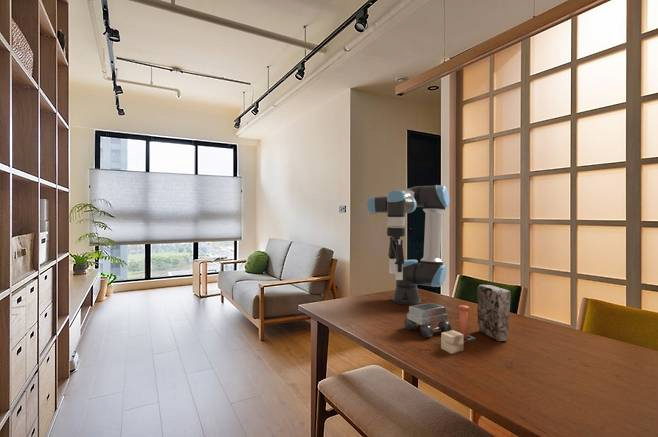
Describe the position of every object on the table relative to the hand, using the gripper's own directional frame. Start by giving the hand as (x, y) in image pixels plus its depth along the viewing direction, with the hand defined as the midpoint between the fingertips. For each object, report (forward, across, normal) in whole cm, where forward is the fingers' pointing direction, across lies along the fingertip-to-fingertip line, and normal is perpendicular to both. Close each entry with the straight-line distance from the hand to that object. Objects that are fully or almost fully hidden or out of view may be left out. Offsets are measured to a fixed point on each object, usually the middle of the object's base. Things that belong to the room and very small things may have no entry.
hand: (395, 276), depth 145 cm
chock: (+23, +21, +17) cm, 35 cm away
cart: (+23, +2, +13) cm, 26 cm away
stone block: (+23, +8, +38) cm, 45 cm away
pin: (+23, +10, +25) cm, 36 cm away
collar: (+23, +10, +25) cm, 36 cm away
